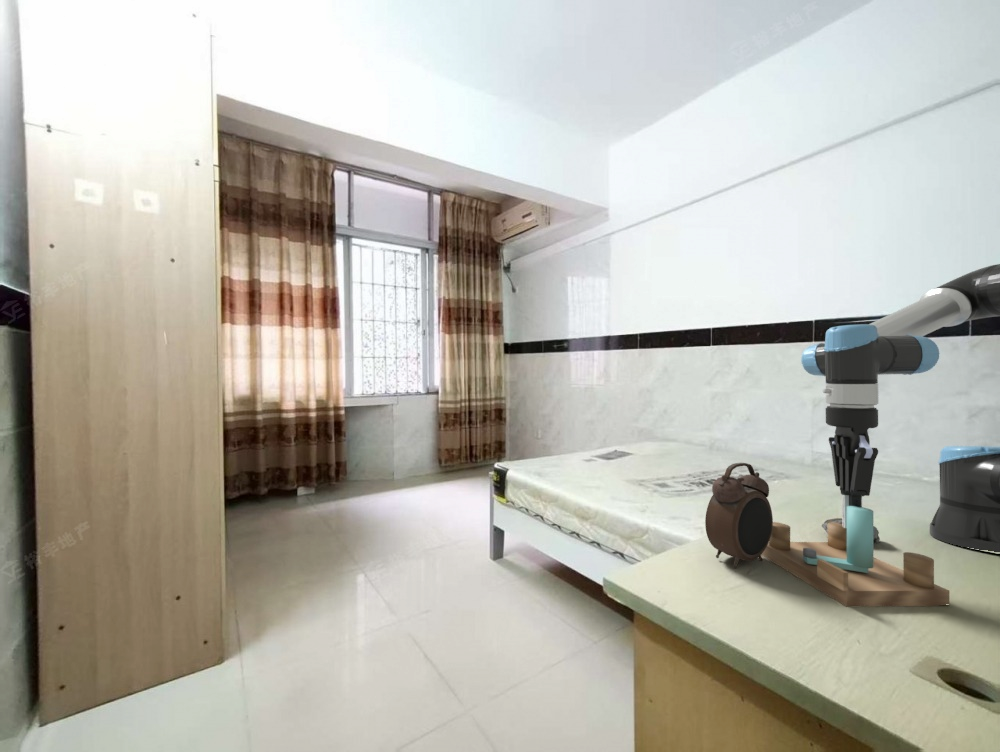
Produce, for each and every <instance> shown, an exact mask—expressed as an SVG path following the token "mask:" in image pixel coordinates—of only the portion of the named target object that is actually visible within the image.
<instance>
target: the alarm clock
mask: <svg viewBox="0 0 1000 752" xmlns="http://www.w3.org/2000/svg"><path fill="white" fill-rule="evenodd" d="M738 467H746V468H747V470H748V473H749V474H743V475H741V476H740V477H737V478H736V477H733V476H731V474H732V472H733V470H735V469H736V468H738ZM711 491H712V496H711V497H710V500H709V502H708V504H707V507H706V511H705V519H704V520H705V522H704V524H705V532H706V536H707V539H708V541H709V543H710V545H712V547H713V548H714V549H716V550H717V553H716V555H715V558H716V559H719V558H720V555H721V554H722V553H724V554H725V555H727V556H730V557H733V558H734V561H733V564H732V567H733V568H734V569H737V565H738V564H739V561H740V560H742V561H748V562H752V561H754V560H757V559H758V560H759V561H760V562H761V561H763V557H762V555H761V554H762V553H763V552H764V550H765V549H766V547H767V545H768V543H769V540H770V537H771V533H772V527H773V522H774V518H773V512H772V507H771V504H770V501H769V499H768V497H769V495H770V487H769V484H768V482H767V481H766V480H764V479H763V478H762V477H760V472H758V471H756V472H755V470H754V467H753V466H752V465H751V463H750V464H749V463H746V462H736V463H735V462H734V463H732V464H731V465H728V466H727V468H726V470H725V473H724V474H723V475H721V477H717V479H715V481H713V483H712V486H711Z"/></svg>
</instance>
